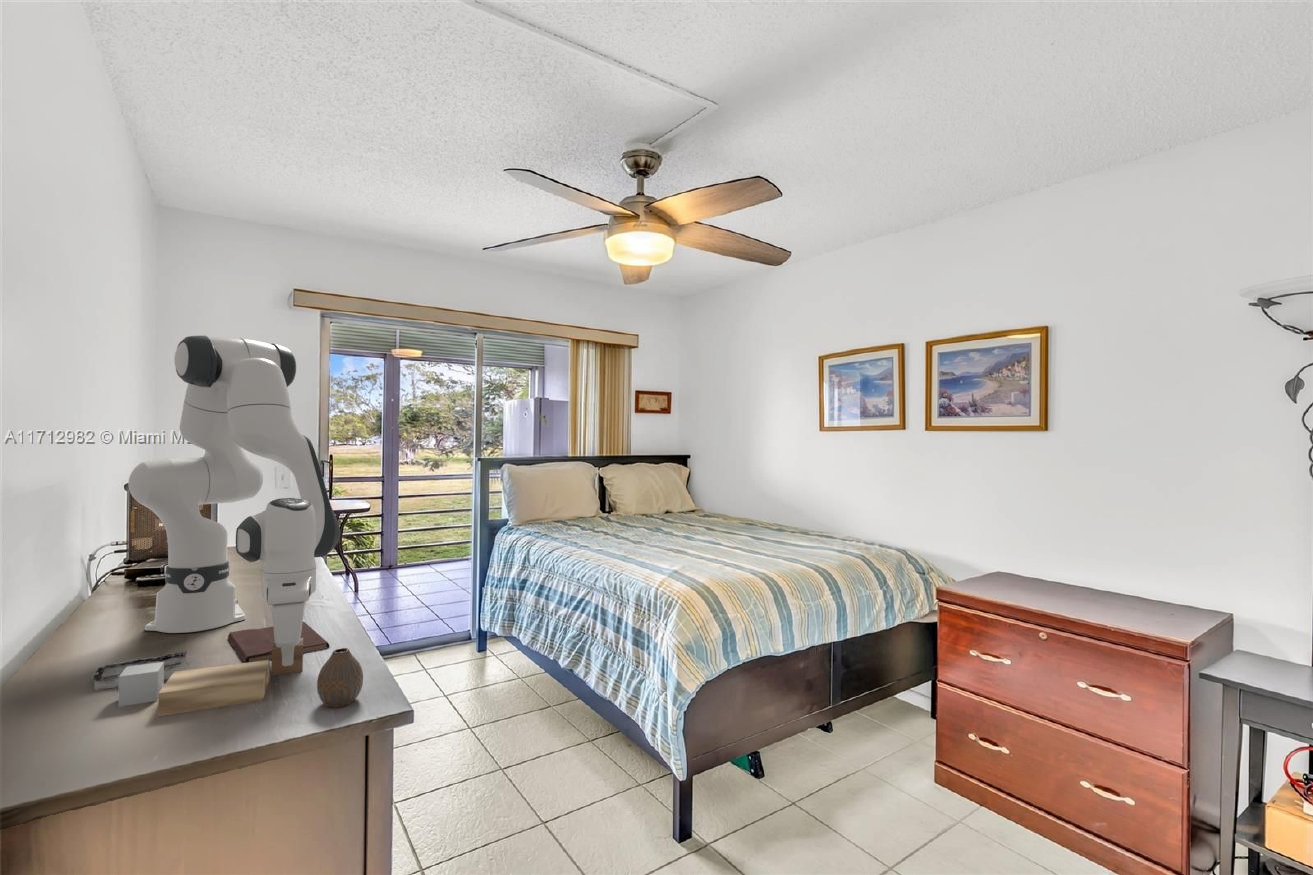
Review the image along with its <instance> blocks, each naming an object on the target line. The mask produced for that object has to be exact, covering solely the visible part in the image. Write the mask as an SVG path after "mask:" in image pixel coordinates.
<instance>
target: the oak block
mask: <svg viewBox="0 0 1313 875" xmlns="http://www.w3.org/2000/svg"><path fill="white" fill-rule="evenodd" d="M270 660H271V659H268V660H263V661H256V662H247V663H245V662H243V663H233V664H226V665H216V666H209V667H201V668H194V669H193V668H192V669H188V670H184V671H176V672H174V673H173V674H172V675H171V677H170V678H169V679H167V681H166V682H165V684H163V688H162V689H161V691H160V692H159V696H158V701H157V702H158V704H157V705H158V710H157V717H161V716H163V717H164V716H167V715H168V716H170V715H176V714H181V713H182V714H183V713H189V712H195V711H196V712H197V711H202V710H209V709H215V708H216V709H217V708H222V707H229V706H237V705H243V704H249V703H255V702H256V703H257V702H262V701H264V697H265V695H266V691H267V688H268V685H269V683H270V665H271V664H270V663H271V662H270Z"/></svg>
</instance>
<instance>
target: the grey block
mask: <svg viewBox="0 0 1313 875" xmlns="http://www.w3.org/2000/svg"><path fill="white" fill-rule="evenodd" d="M164 669H165V666H164V662H158V663H150V664H142V665H135V666H127V667H126V668H125V669H124V671H123V672H122V673H121V675H120V674H119V675H120V676H119V687H118V703H117V706H118V708H119V707H126V705H127V706H133V705H139V704H140V705H141V704H145V703H151V702H152V701H153V702H158V701H157V700H158V696H159V692H160V691H161V689H162V688H163V687H164V680H165V679H164Z"/></svg>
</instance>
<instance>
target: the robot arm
mask: <svg viewBox="0 0 1313 875" xmlns="http://www.w3.org/2000/svg"><path fill="white" fill-rule="evenodd" d="M174 366H175V367H174V368H175V372H176V374H177V376H178V377H179V379H181V380H182V381H183V382H184V383H187V386H186V387H187V388H186V390H185V395H184V400H183V404H182V411H181V417H180V422H179V432H180V434H181V436H182V438H183V439H184V440H185V441H186V442H187V443H189V444H191V445H193V446H195V447H197V448H200V449H203V450H204V451H205V452H204V455H203V456H201V457H166V458H159V459H153V460H147V461H142V462H139V464H137V466H136V467H134V468H133V470H132V471H131V472H130V475H129V478H128V483H127V484H128V486H127V487H128V491H129V494H130V495H131V496H132V498H133V499H134V500H135V501H136V502H137V503H139V504H140V505H142V506H144V507H146V508H147V509H148V510H150V511H152V513H154V514H155V515H156V516H157V517H158V519H159V520H160V521H161V523H162V525H163V527H164V529H165V532H166V538H167V551H168V552H167V556H168V557H167V558H168V560H167V563H168V564H167V566H166V567H165V571H164V576H165V578H164V581H165V582H164V583H165V585H164V586H163V587H162V588H161V589H160V590H158V592H157V593H156V598H155V610H154V612H155V613H154V620H152V621H150V622H149V623H147V624H145V626H144V630H145V631H152V632H153V631H154V632H161V633H167V634H180V633H181V634H182V633H183V634H184V633H194V632H201V631H207V630H213V629H215V628H216V629H217V628H221V627H223V626H226V625H229V624H232V623H236V622H240V621H243V620H246V614H245V612H244V611H243V609H242V608H241V607H240V605H239V604H238V599H237V598H236V585H234V583H232V582H231V581H230V579H229V576H230V562H229V561H228V531H227V528H226V527H225V526H224V525H223V524H221V522H218V521H216V520H213V519H210V518H207V517H204V516H202V514H201V511H200V506H201V505H211V504H212V505H213V504H214V505H215V504H231V503H236V502H240V501H244V500H248V499H249V500H250V499H252V498H255V497H256V496H257V495H258V493H259V492H260V491H261V489H262V486H263V483H264V474H263V471H262V469H261V467H260V466H259V464H257V462H255V460H253V459H251V458H250V457H249V456H248V455H247V454H246V453H245V451H247V452H249V453H250V454H252V455H255V456H258V457H262V458H264V459H265V458H266V459H269V460H271V461H274V462H276V463H279V464H280V465H283V466H284V467H286V468H288V470H289V471H290V472H291V473H292V474H293V476H294V479H295V482H296V487H297V489H298V492H299V496H300V498H295V497H281V498H277V499H273V500H271V501H269V502H268V503H267V504H266V507H265V510H263V511H261V512H259V513H256V514H254V515H249V516H247V517H246V518H245V519H244V520H243V521H242V522H241V523H239V525H238V526H237V528H236V531H235V550H236V553H237V554H238V555H239V556H240V557H241V558H243V559H244V560H246V561H247V562H249V563H258V564H259V563H264V564H263V569H262V584H261V585H262V587H261V588H262V589H261V596H262V597H264V598H265V599H266V600H267V605H268V606H270V609H271V618H272V627H273V629H274V638H275V644H276V646H277V647H281V653H282V665H283V666H290V665H292V664H293V657H294V647H295V645H298V644H299V641H300V637H301V631H302V623H303V622H304V616H305V609H306V605H307V602H308V601H309V600H310V597H311V595H312V594H313V593H315V592H316V590H317V589H316V588H317V563H316V560H315V558H324V557H326V556H327V555H329V553H330V552H331V551H332V550H333V549H335V548H336V546H337V545H338V543H339V542H340V538H341V526H340V523H339V521H338V518H337V516H336V514H335V512H334V509H333V507H332V505H331V502H330V498H329V494H328V491H327V488H326V484H325V480H324V477H323V473H322V470H321V466H320V464H319V463H320V462H319V460H318V457H317V453H316V451H315V447H314V445H313V443H312V441H311V440H310V438H309V437H307V436H306V435H304V434H302V433H301V431H300V430H299V428H298V427H297V425H296V424H295V421H294V419H293V415H292V410H291V409H292V408H291V401H290V400H291V399H290V394H289V390H288V387H289V386H291V384H292V383H293V382H294V380H295V377H296V375H297V362H296V357H295V355H294V354H293V352H292V351H291V350H290V349H289V348H287V347H285V346H283V345H280V344H276V343H266V342H264V341H259V340H253V339H247V338H241V337H240V338H231V337H216V336H215V337H214V336H213V337H212V336H211V337H209V336H207V335H190V336H186V337H184V338H183V339H182V340H181V341H180V342H179V343H178V345H177V347H176V351H175V352H174ZM244 450H245V451H244Z"/></svg>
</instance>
